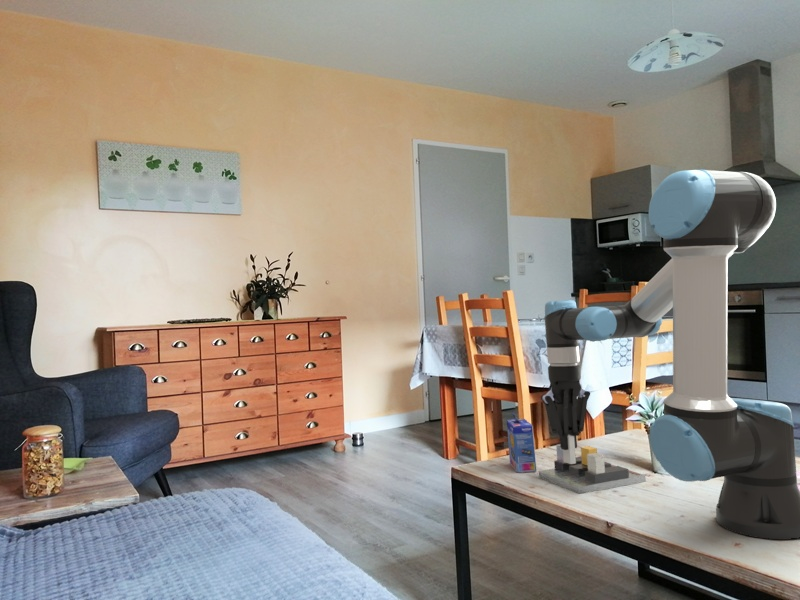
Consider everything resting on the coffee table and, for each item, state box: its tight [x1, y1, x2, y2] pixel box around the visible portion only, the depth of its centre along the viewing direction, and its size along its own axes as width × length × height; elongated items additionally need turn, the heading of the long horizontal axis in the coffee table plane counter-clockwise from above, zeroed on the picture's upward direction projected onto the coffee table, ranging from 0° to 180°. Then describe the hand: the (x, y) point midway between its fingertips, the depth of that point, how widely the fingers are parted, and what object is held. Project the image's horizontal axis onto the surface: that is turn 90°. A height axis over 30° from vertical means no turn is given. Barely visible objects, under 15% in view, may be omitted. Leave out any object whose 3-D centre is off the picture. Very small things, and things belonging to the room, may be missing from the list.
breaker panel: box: [538, 444, 647, 495], centre depth 145 cm, size 16×19×8 cm
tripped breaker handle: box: [580, 445, 598, 466], centre depth 145 cm, size 3×2×4 cm
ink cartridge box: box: [506, 412, 538, 474], centre depth 159 cm, size 10×6×14 cm, turn 1°
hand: (569, 462), depth 143 cm, fingers closed
